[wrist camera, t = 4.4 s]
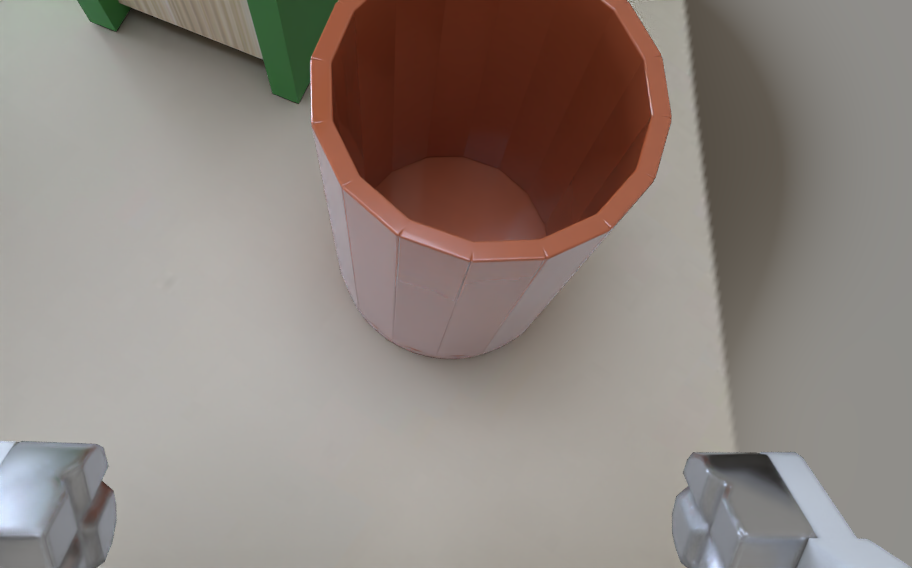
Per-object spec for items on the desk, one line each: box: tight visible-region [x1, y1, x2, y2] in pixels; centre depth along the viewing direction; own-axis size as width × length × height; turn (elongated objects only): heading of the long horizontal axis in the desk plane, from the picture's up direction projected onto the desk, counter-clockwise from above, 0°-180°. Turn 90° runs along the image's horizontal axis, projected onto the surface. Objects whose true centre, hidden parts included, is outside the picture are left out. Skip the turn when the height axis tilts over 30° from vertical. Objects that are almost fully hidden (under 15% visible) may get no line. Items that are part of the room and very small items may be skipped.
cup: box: [310, 0, 672, 359], centre depth 19 cm, size 7×7×10 cm
